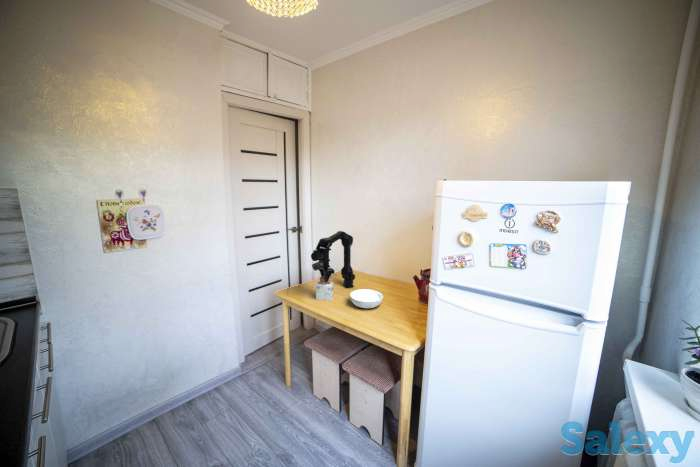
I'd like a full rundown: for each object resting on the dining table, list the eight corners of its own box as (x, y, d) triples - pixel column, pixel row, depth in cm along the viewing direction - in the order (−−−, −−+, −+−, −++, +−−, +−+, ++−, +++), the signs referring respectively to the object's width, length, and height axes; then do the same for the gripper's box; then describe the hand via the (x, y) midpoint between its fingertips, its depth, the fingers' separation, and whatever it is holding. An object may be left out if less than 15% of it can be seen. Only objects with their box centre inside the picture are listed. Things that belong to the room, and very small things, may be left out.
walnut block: (326, 281, 187) (326, 275, 186) (329, 283, 182) (329, 278, 182) (319, 282, 184) (319, 276, 184) (322, 284, 180) (322, 279, 179)
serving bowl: (379, 314, 163) (379, 303, 162) (345, 309, 169) (345, 298, 168) (385, 301, 183) (385, 291, 182) (354, 296, 189) (355, 287, 188)
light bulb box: (333, 296, 188) (333, 281, 186) (331, 300, 181) (331, 285, 180) (317, 296, 189) (317, 281, 187) (315, 299, 182) (315, 284, 181)
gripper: (308, 255, 185) (308, 278, 187) (318, 262, 169) (318, 287, 171) (323, 254, 190) (323, 275, 193) (334, 260, 174) (334, 284, 176)
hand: (324, 280), depth 183 cm, fingers open, 6 cm apart
